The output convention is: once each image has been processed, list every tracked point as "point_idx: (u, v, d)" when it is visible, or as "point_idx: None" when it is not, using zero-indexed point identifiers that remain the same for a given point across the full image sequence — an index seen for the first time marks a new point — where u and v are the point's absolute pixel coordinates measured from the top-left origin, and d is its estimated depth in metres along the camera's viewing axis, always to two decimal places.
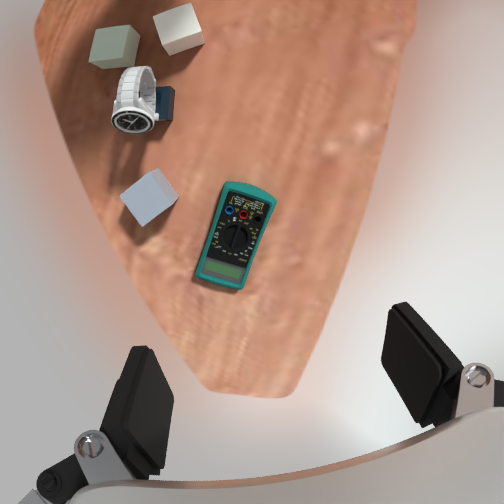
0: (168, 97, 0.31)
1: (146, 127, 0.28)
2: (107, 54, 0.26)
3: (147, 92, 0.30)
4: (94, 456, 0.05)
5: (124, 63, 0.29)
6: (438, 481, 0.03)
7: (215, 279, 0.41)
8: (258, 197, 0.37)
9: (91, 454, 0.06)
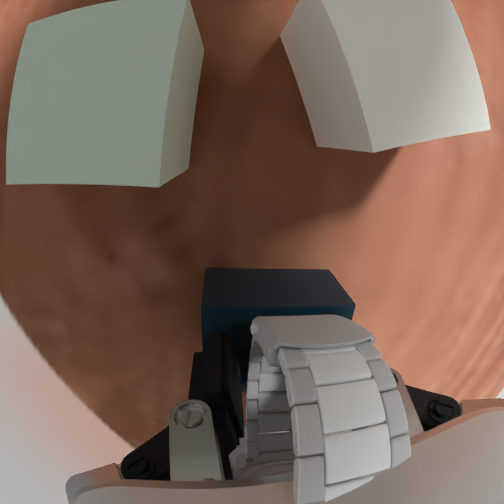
0: None
1: None
2: (78, 154, 0.06)
3: None
4: (188, 426, 0.07)
5: None
6: (438, 481, 0.03)
7: None
8: None
9: (186, 423, 0.07)
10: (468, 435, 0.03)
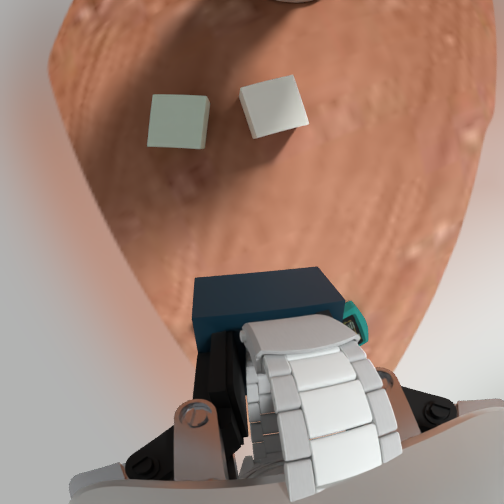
0: None
1: None
2: (176, 139, 0.24)
3: None
4: (193, 425, 0.07)
5: None
6: (438, 481, 0.03)
7: None
8: (363, 333, 0.37)
9: (191, 422, 0.07)
10: (468, 435, 0.03)
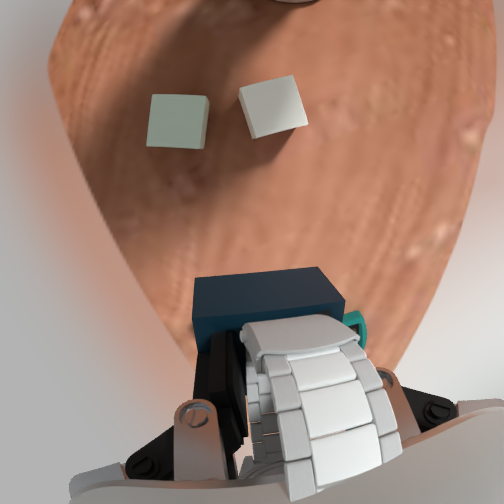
0: None
1: None
2: (176, 139, 0.24)
3: None
4: (193, 425, 0.07)
5: None
6: (438, 481, 0.03)
7: None
8: (362, 345, 0.37)
9: (191, 422, 0.07)
10: (468, 435, 0.03)
